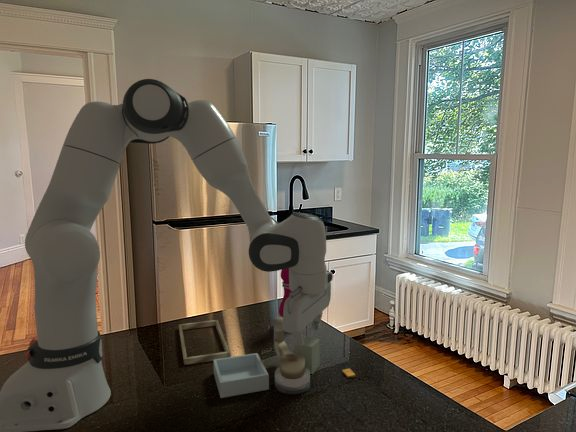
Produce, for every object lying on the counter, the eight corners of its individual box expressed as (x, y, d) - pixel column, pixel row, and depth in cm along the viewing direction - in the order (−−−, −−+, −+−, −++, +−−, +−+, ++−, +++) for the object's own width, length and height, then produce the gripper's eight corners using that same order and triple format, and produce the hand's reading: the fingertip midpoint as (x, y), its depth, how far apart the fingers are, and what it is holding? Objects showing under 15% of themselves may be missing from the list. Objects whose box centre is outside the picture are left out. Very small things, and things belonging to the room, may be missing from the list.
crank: (308, 376, 92) (308, 339, 91) (284, 380, 91) (284, 343, 89) (288, 347, 106) (288, 315, 105) (267, 350, 104) (266, 318, 103)
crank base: (280, 397, 89) (280, 384, 89) (270, 378, 97) (270, 367, 97) (360, 382, 95) (360, 370, 95) (345, 365, 103) (345, 354, 102)
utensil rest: (184, 365, 103) (183, 359, 103) (178, 329, 125) (178, 324, 124) (230, 357, 107) (230, 352, 107) (217, 324, 128) (217, 319, 128)
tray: (220, 398, 89) (220, 382, 89) (213, 373, 99) (213, 359, 99) (268, 389, 92) (268, 374, 92) (257, 366, 102) (257, 352, 102)
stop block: (312, 374, 98) (312, 347, 97) (294, 370, 101) (294, 343, 100) (319, 366, 102) (319, 339, 101) (302, 362, 104) (302, 335, 103)
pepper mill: (300, 330, 123) (300, 264, 120) (276, 328, 125) (275, 263, 122) (304, 320, 130) (304, 258, 127) (281, 319, 132) (281, 257, 129)
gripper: (301, 296, 88) (302, 358, 90) (335, 271, 106) (335, 323, 108) (275, 292, 91) (276, 352, 93) (312, 268, 109) (313, 319, 111)
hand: (308, 336), depth 101 cm, fingers open, 8 cm apart
